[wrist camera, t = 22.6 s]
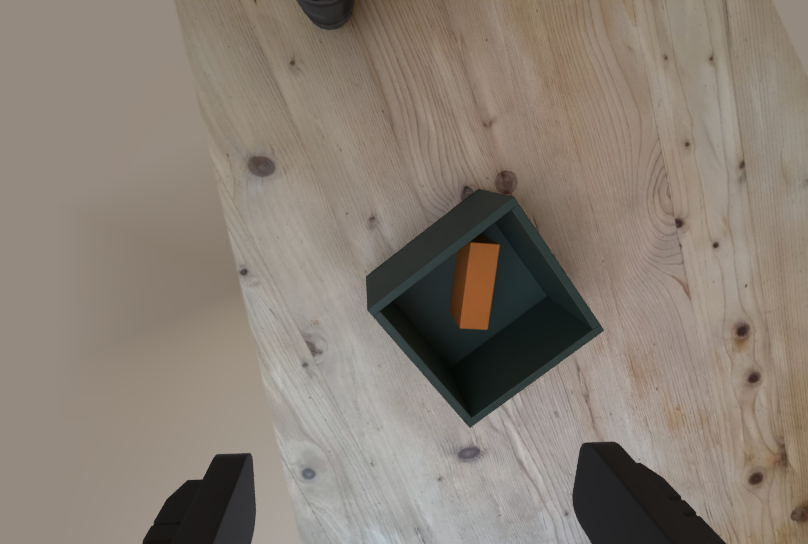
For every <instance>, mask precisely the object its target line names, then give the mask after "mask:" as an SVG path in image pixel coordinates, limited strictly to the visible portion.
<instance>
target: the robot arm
mask: <svg viewBox="0 0 808 544" xmlns="http://www.w3.org/2000/svg"><path fill="white" fill-rule="evenodd" d="M254 489H255V488H254V472H253V459H252V455H251V454H250V453H243V454H242V453H241V454H217V455H216V456H215V457H214V458H213V460H212V462H211V464H210V466H209V468H208V470H207V472H206V474H205V476H204V478H203V480H187V481H186V482H185V483H184V484H183V485H182V486H181V487H180V488H179V489H178V490H176V492H174V493H173V494H172V495H171V496H170V497H169V498H168V499H167V500H166V502H165V503H164V505H163V507H162V509H161V510H160V512H159V514H158V515H157V518H156V519H155V521H154V525H153V526H151V528H150V529H149V531H148V533H147V535H146V536H145V538H144V540H143V544H251V541H252V537H253V532H254V526H255V516H256V503H255V490H254ZM573 506H574V511H575V514H576V517H577V519H578V521H579V523H580V525H581V527H582V528H583V530H584V531H585V533H586V535H587V536H588V538H589V540H590V541H591V543H592V544H726V543H725V542H724V541H723V540H722V539H721V538H720V537H719V536H718V535H717V534H716V533H715V532H714V531H713V529H712V528H711V527H710V526H709V525H708V524H707V523H706V522H705V521H704V520H703V519H702V518H701V517H700V516H697V515H696V512H695V511H694V510H693V509H692V508H691V507H690V505H689V504H688V503H687V502H686V501H685V500H682V499H681V496H680V495H679V494H678V493H677V492H676V491H675V490H674V489H673V488H672V487H671V486H670V485H669V484H668V483H667V481H666V480H665V479H664V478H662V477H661V476H659V475H658V474H656V473H655V472H653V471H652V470H650V469H649V468H647V467H646V466H644V465H643V464H641V463H636V462H635V461H634V460H633V459H632V458H631V457H630V456H629V454H628V453H627V452H626V451H625V450H624V449H623V448H622V447H621V446H620V445H619V444H618V443H616V442H590V443H584V444H582V446H581V448H580V452H579V458H578V464H577V470H576V476H575V482H574V488H573Z"/></svg>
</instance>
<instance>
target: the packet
mask: <svg viewBox="0 0 808 544" xmlns="http://www.w3.org/2000/svg"><path fill="white" fill-rule="evenodd" d="M499 248H500V244H498V243H496V242H495V241H493V240H491V239H490V238H488V237H486V236H481V235H478V236H477V237H475V238H474V239H473V240H471V241H470V242H469V243H468V244H466V245H465V246H464V247H462V248H461V249H460V250H458V251H457V255H456V264H455V272H454V280H453V289H452V297H451V305H450V313H451V314H452V316H453V318H454V319H455V321H456V323H457V325H458V326H459V328H462V329H485V330H487V329H488V324H489V317H490V310H491V303H492V296H493V289H494V283H495V276H496V269H497V262H498V255H499Z"/></svg>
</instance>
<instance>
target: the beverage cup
mask: <svg viewBox="0 0 808 544" xmlns="http://www.w3.org/2000/svg"><path fill="white" fill-rule="evenodd" d="M297 2H298V3H299V5H300V6H301V8H302V9H303V11H304V12H305V14H306V15H307V16H308V17H309V18H310V20H311V21H312V22H313V23H314V24H315V25H317V26H318V27H320V28H323V29H327V30H333V29H337V28H339V27H341V26H343V25H344V24H345V23H346V22H347V21H348V19H349V17H350V15H351V12H352V9H353V5H354V0H297Z"/></svg>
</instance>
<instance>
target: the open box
mask: <svg viewBox="0 0 808 544" xmlns="http://www.w3.org/2000/svg"><path fill="white" fill-rule="evenodd" d="M478 235H481V236H486V237H488V238H490V239H491V240H493V241H495V242H496V243H498V244H500V248H499V255H498V262H497V269H496V276H495V283H494V289H493V296H492V303H491V310H490V317H489V324H488V329H487V330H485V329H462V328H459V326H458V325H457V323H456V321H455V319H454V318H453V316H452V314H451V313H450V305H451V297H452V289H453V280H454V272H455V264H456V255H457V251H458V250H460V249H461V248H462V247H464V246H465V245H466V244H468V243H469V242H470V241H471V240H473V239H474V238H475V237H477V236H478ZM366 287H367V310H368V311H369V312H370V314H371V315H372V316H373V317H374V318H375V319H376V320H377V322H378V323H379V324H380V325H381V326H382V327H383V329H384V330H385V331H386V332H387V333H388V334H389V335H390V337H391V338H392V339H393V340H394V341H395V342H396V343H397V345H398V346H399V347H400V348H401V349H402V350H403V352H404V353H405V354H406V355H407V356H408V357H409V358H410V360H411V361H412V362H413V363H414V364H415V365H416V367H417V368H418V369H419V370H420V371H421V372H422V373H423V375H424V376H425V377H426V378H427V379H428V380H429V381H430V383H431V384H432V385H433V386H434V387H435V388H436V390H437V391H438V392H439V393H440V394H441V395H442V396H443V398H444V399H445V400H446V401H447V402H448V403H449V404H450V406H451V407H452V408H453V409H454V410H455V411H456V413H457V414H458V415H459V416H460V417H461V418H462V419H463V421H464V422H465V423H466V424H467V425H468V426H469V427H472V426H473V425H474V424H476V423H477V422H479V421H480V420H481V419H483V418H484V417H485V416H487V415H488V414H490V413H491V412H492V411H494V410H495V409H496V408H498V407H499V406H501V405H502V404H503V403H505V402H506V401H507V400H509V399H510V398H512V397H513V396H514V395H516V394H517V393H518V392H520V391H521V390H523V389H524V388H525V387H527V386H528V385H530V384H531V383H532V382H534V381H535V380H536V379H538V378H539V377H541V376H542V375H543V374H545V373H546V372H547V371H549V370H550V369H552V368H553V367H554V366H556V365H557V364H558V363H560V362H561V361H563V360H564V359H565V358H567V357H568V356H570V355H571V354H572V353H574V352H575V351H576V350H578V349H579V348H581V347H582V346H583V345H585V344H586V343H587V342H589V341H590V340H592V339H593V338H594V337H596V336H597V335H598V334H600V333H601V332H603V331H604V329H603V328H602V326H601V325H600V323H599V322H598V320H597V319H596V317H595V316H594V314H593V313H592V312H591V310H590V309H589V307H588V306H587V304H586V303H585V301H584V300H583V298H582V297H581V295H580V294H579V292H578V291H577V289H576V288H575V286H574V285H573V283H572V282H571V280H570V279H569V277H568V276H567V274H566V273H565V271H564V270H563V269H562V267H561V266H560V264H559V263H558V261H557V260H556V258H555V257H554V255H553V254H552V252H551V251H550V249H549V248H548V246H547V245H546V243H545V242H544V240H543V239H542V237H541V236H540V234H539V233H538V231H537V230H536V229H535V227H534V226H533V224H532V223H531V221H530V220H529V218H528V217H527V215H526V214H525V212H524V211H523V209H522V208H521V206H520V205H519V204H518V202H517V200H516V199H515V197H513V196H508V195H504V194H499V193H495V192H490V191H486V190H481V189H478V190H476V191H475V192H474V193H472V194H471V195H470V196H469V197H467V198H466V199H465V200H463V201H462V202H461V203H460V204H458V205H457V206H456V207H454V208H453V209H452V210H451V211H449V212H448V213H447V214H446V215H444V216H443V217H442V218H440V219H439V220H438V221H437V222H435V223H434V224H433V225H431V226H430V227H429V228H428V229H426V230H425V231H424V232H423V233H421V234H420V235H419V236H417V237H416V238H415V239H414V240H412V241H411V242H410V243H408V244H407V245H406V246H405V247H403V248H402V249H401V250H399V251H398V252H397V253H396V254H394V255H393V256H392V257H391V258H389V259H388V260H387V261H385V262H384V263H383V264H382V265H380V266H379V267H378V268H376V269H375V270H374V271H373V272H371V273H370V274H369V275H367V276H366Z"/></svg>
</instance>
